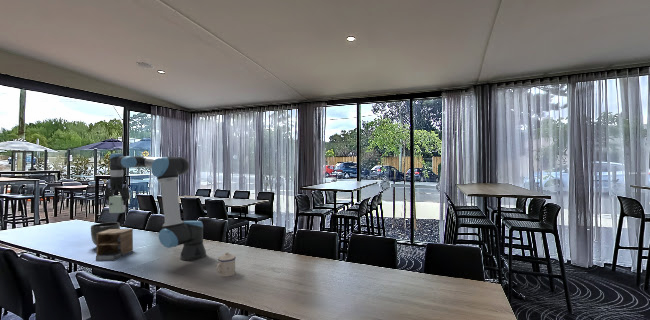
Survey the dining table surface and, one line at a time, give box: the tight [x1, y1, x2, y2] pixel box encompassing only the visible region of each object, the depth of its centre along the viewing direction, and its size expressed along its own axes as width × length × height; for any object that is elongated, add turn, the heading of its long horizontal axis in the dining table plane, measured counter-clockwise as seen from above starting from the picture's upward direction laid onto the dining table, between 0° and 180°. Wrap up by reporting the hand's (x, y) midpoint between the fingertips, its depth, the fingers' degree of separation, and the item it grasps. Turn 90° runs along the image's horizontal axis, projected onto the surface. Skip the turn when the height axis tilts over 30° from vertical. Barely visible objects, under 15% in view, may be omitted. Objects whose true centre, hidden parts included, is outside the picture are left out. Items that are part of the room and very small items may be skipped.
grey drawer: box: [95, 237, 124, 262], centre depth 191 cm, size 11×9×12 cm
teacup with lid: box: [215, 251, 236, 278], centre depth 161 cm, size 12×9×12 cm
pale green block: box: [108, 195, 126, 214], centre depth 202 cm, size 8×5×11 cm, turn 90°
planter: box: [90, 221, 121, 246], centre depth 218 cm, size 17×17×16 cm
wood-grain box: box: [95, 228, 134, 256], centre depth 201 cm, size 16×12×15 cm
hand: (117, 209), depth 202 cm, fingers closed on pale green block, 8 cm apart
